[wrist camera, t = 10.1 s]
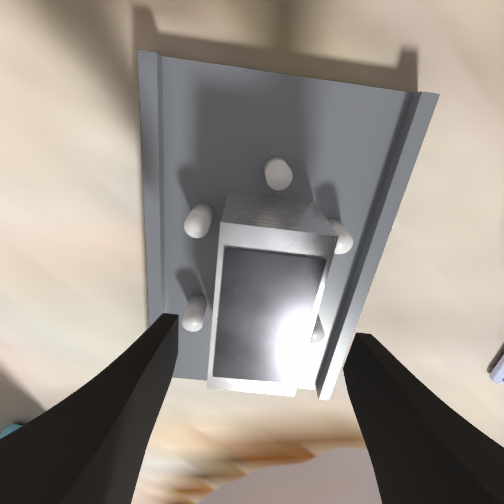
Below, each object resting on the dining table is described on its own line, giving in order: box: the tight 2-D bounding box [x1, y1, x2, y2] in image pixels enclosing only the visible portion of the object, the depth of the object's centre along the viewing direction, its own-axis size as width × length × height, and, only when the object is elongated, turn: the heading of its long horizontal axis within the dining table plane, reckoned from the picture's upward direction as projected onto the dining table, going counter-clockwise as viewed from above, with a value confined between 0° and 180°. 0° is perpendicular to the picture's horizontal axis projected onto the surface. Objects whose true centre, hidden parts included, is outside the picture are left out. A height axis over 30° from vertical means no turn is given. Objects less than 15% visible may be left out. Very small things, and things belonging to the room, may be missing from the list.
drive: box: [207, 190, 339, 396], centre depth 15 cm, size 4×9×5 cm, turn 173°
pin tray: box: [137, 50, 440, 400], centre depth 17 cm, size 13×20×3 cm, turn 173°
